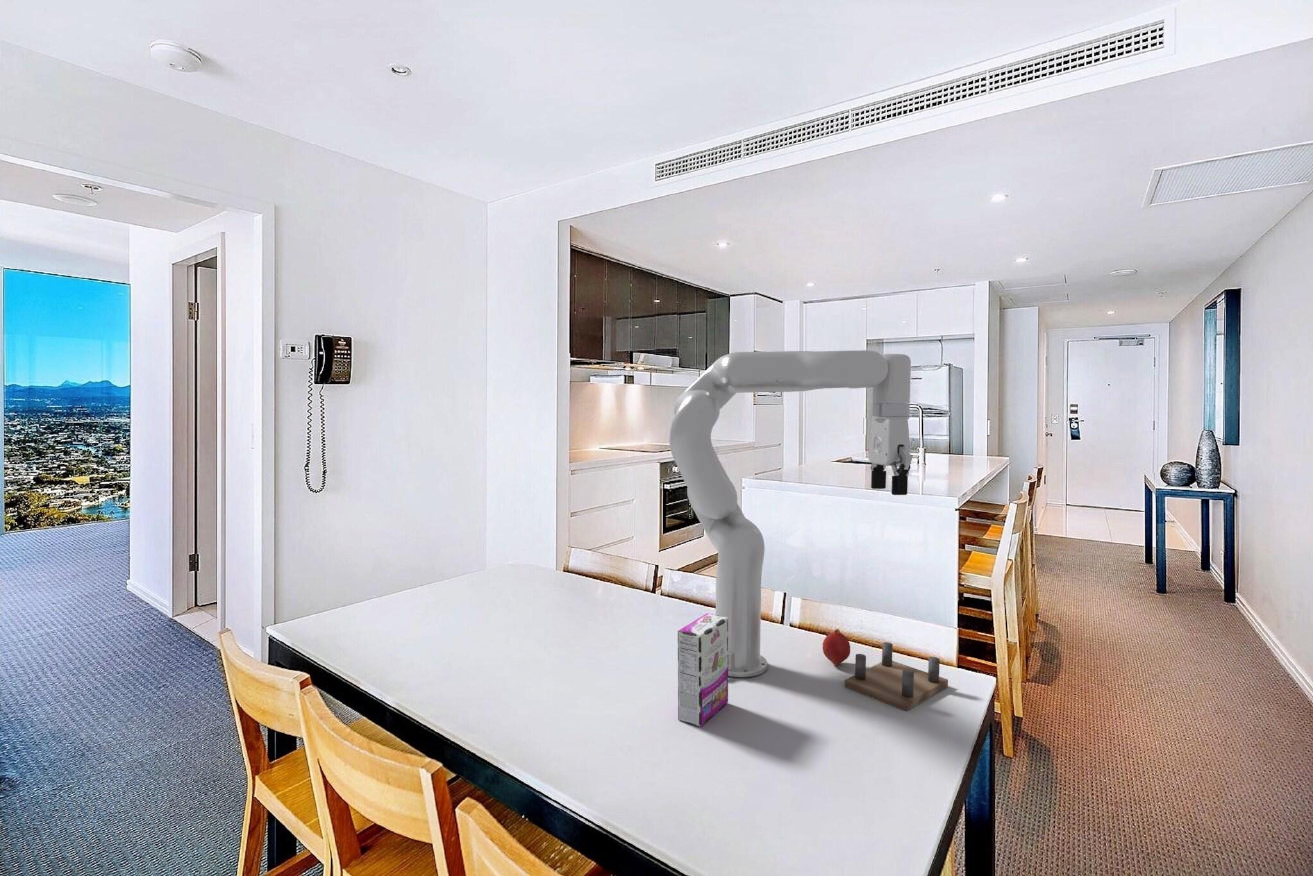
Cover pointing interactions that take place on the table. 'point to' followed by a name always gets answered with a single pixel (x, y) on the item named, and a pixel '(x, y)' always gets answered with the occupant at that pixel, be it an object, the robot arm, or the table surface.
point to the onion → (836, 647)
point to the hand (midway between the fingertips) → (888, 491)
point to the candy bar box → (702, 669)
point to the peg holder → (896, 680)
